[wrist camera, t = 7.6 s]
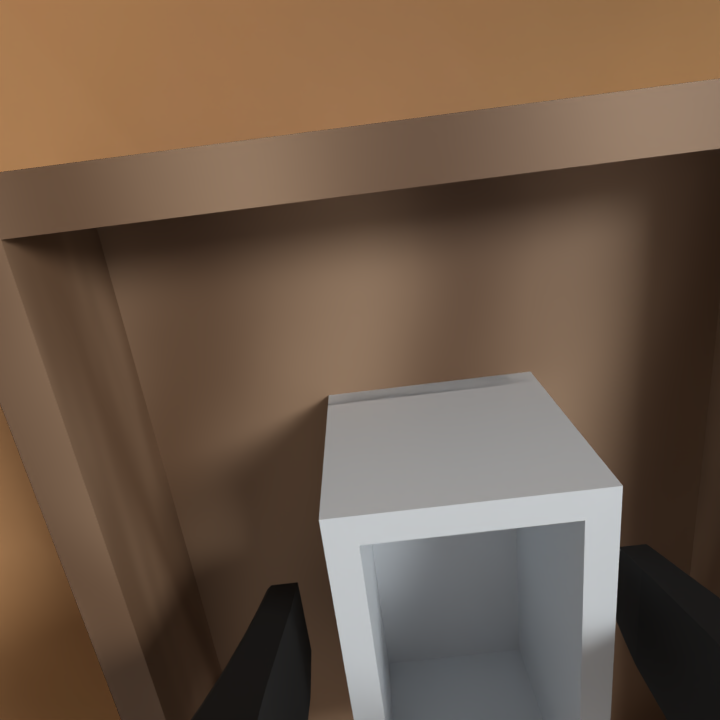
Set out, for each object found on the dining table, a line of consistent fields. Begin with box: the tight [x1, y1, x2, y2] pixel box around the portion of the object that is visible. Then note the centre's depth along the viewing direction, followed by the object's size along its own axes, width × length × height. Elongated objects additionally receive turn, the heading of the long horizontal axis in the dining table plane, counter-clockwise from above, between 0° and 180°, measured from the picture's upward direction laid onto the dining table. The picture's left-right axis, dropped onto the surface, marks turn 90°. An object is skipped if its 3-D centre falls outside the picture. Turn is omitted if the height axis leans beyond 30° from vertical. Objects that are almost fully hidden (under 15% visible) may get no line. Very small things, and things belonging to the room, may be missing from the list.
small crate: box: [319, 372, 623, 720], centre depth 13 cm, size 5×9×5 cm, turn 7°
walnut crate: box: [0, 79, 720, 720], centre depth 14 cm, size 16×20×4 cm
